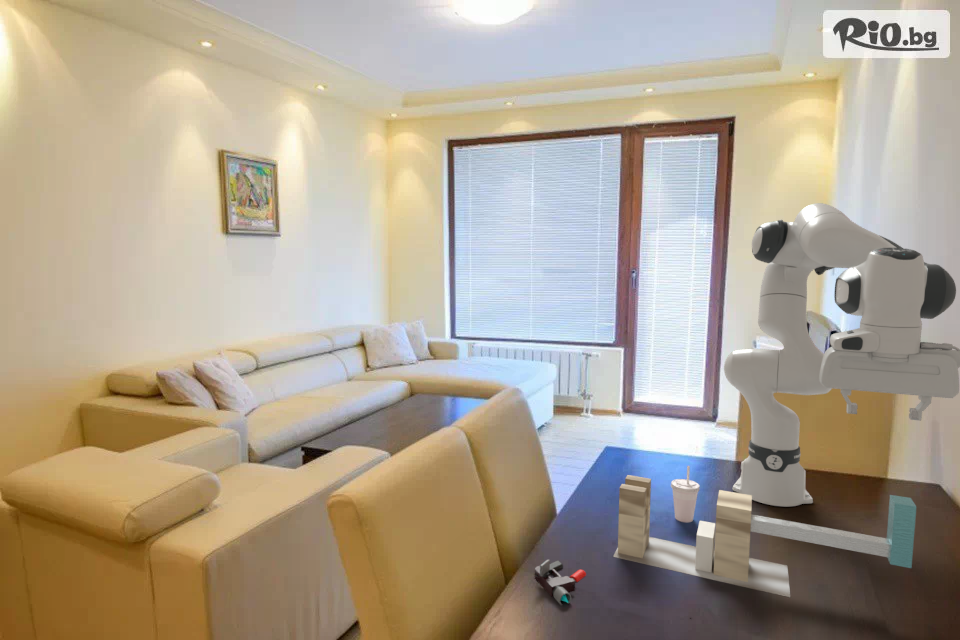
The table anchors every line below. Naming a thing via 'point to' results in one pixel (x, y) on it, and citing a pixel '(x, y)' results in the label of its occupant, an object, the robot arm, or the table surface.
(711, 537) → the collar
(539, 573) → the toy gun
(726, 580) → the stand
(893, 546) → the shaft
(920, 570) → the table surface
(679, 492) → the smoothie
